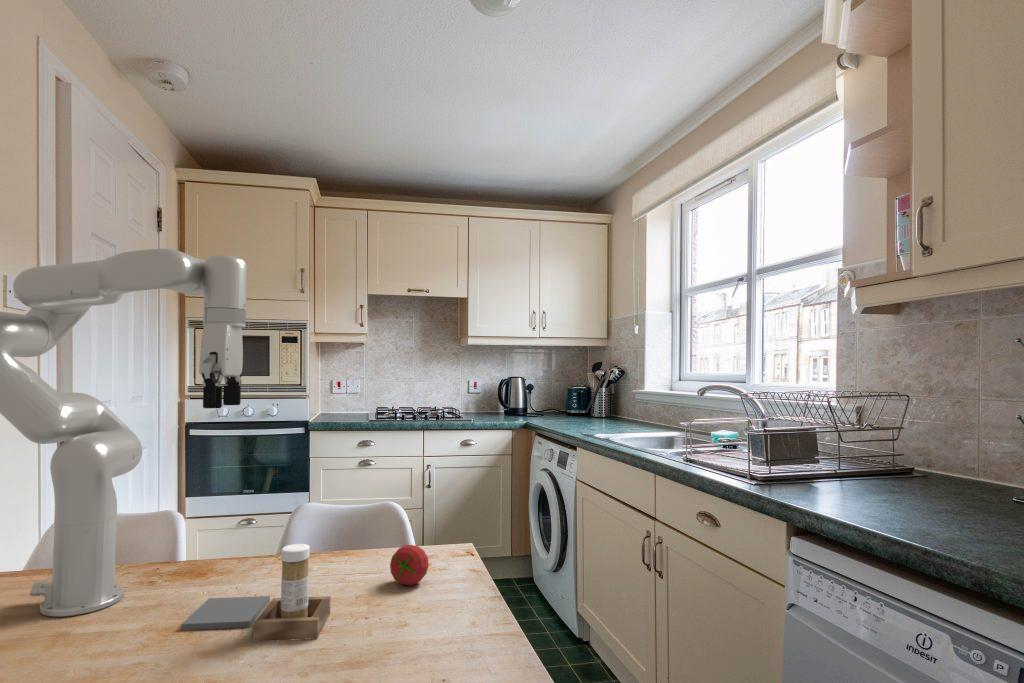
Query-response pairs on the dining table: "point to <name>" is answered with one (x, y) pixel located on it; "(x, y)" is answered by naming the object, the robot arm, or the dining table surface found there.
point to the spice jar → (295, 581)
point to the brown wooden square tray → (292, 621)
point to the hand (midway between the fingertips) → (222, 406)
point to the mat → (226, 613)
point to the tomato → (409, 565)
